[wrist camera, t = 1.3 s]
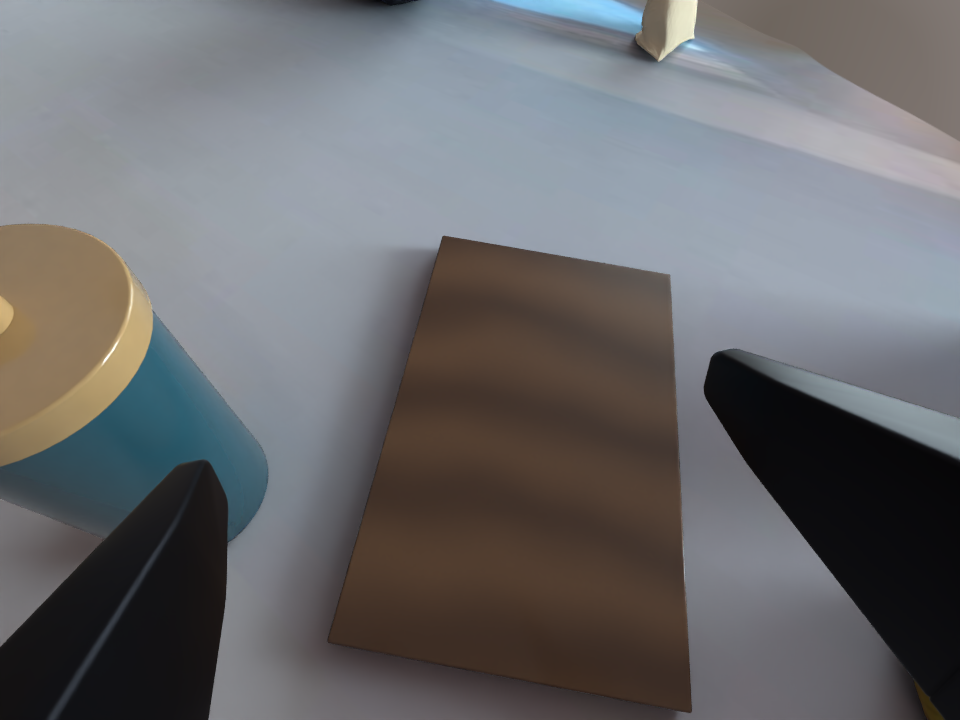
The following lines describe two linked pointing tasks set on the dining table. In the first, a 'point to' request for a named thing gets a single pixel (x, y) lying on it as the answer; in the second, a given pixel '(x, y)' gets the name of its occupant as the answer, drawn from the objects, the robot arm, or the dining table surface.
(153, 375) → the canister
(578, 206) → the dining table surface
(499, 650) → the board
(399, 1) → the decorative orb
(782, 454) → the robot arm
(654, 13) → the decorative ornament
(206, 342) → the dining table surface
